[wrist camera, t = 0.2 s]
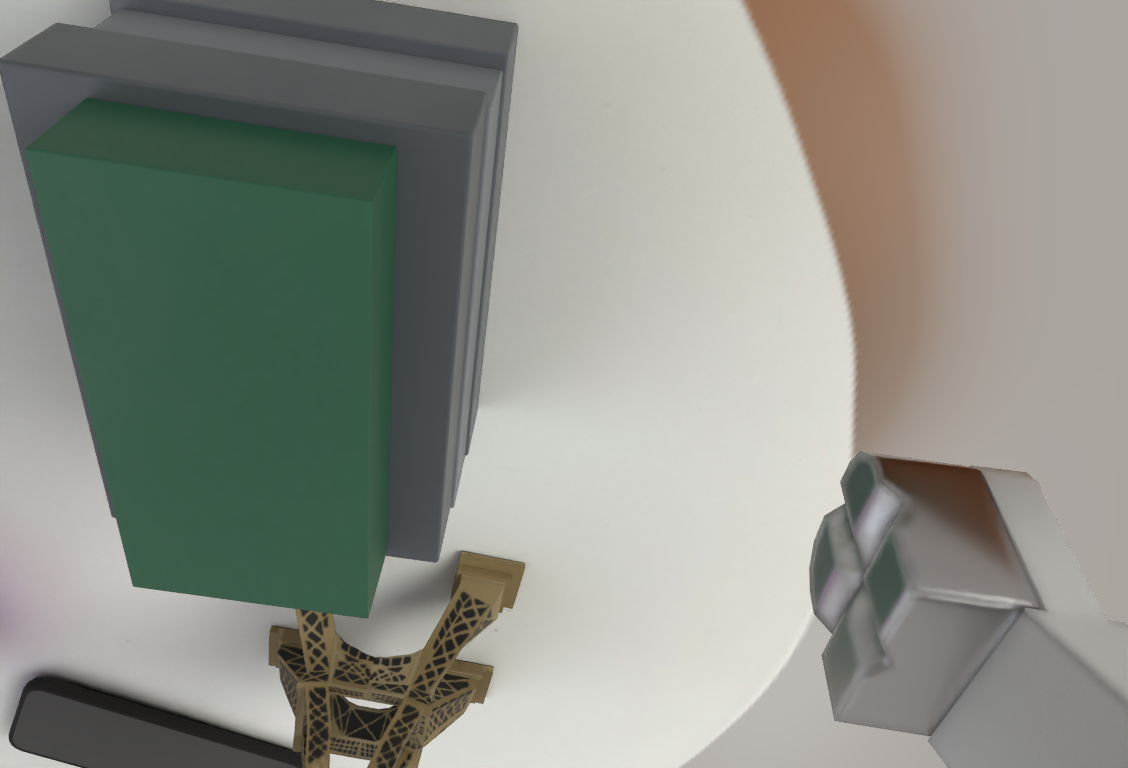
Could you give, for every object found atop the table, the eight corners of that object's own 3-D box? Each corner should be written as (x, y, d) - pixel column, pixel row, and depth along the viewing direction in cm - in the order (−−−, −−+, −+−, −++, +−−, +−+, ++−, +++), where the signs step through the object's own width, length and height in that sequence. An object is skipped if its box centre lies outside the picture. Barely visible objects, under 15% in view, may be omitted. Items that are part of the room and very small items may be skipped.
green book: (85, 96, 19) (22, 147, 17) (397, 146, 19) (371, 201, 17) (168, 519, 27) (132, 587, 25) (387, 550, 27) (367, 619, 25)
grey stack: (148, -38, 24) (-6, 58, 19) (518, 23, 25) (483, 136, 19) (204, 369, 33) (111, 523, 27) (477, 409, 34) (444, 569, 28)
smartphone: (271, 822, 53) (3, 748, 49) (276, 806, 54) (11, 732, 50) (313, 768, 49) (23, 682, 45) (317, 752, 50) (32, 665, 46)
